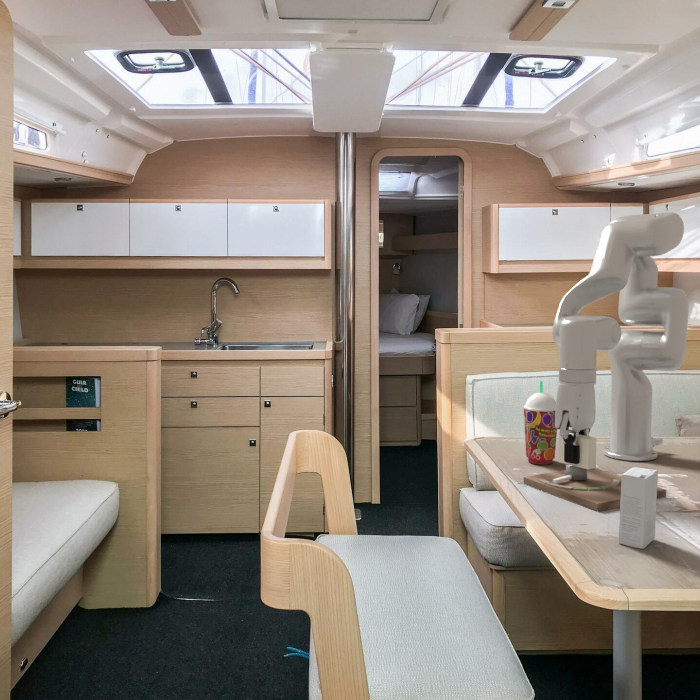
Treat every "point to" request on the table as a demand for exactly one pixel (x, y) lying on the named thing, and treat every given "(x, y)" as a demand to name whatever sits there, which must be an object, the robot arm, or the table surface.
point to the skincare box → (638, 507)
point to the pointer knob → (585, 459)
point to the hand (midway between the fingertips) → (576, 460)
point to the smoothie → (540, 428)
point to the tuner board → (584, 488)
